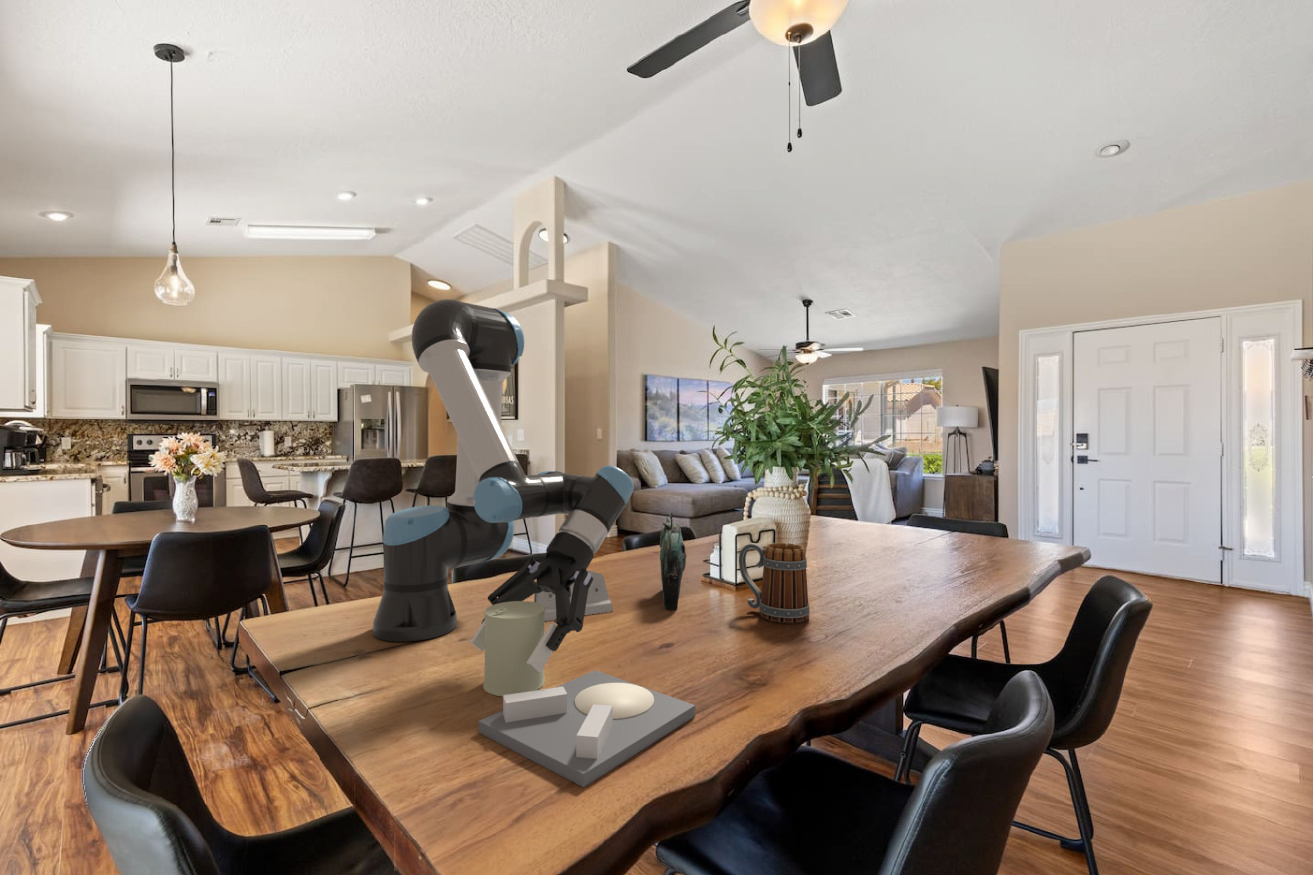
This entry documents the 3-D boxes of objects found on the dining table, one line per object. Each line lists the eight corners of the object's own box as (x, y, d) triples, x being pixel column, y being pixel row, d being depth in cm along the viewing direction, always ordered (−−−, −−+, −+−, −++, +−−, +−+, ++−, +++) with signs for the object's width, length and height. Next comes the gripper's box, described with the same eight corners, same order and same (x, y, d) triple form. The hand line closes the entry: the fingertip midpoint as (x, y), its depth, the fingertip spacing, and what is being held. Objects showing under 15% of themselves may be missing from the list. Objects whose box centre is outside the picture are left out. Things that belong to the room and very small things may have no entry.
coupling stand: (478, 732, 78) (478, 701, 78) (595, 679, 94) (595, 654, 94) (583, 787, 66) (583, 750, 66) (695, 716, 83) (695, 686, 83)
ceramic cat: (659, 587, 151) (660, 507, 151) (685, 588, 151) (686, 508, 151) (657, 610, 131) (658, 519, 131) (686, 611, 131) (687, 519, 131)
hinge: (539, 622, 123) (534, 572, 126) (532, 623, 127) (528, 575, 130) (614, 611, 131) (608, 564, 134) (606, 613, 135) (600, 568, 138)
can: (471, 684, 92) (472, 606, 92) (522, 667, 99) (522, 594, 99) (505, 702, 86) (506, 619, 86) (556, 683, 93) (557, 606, 93)
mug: (816, 614, 130) (817, 545, 130) (799, 627, 121) (800, 553, 121) (749, 603, 138) (750, 537, 138) (729, 614, 129) (730, 544, 129)
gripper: (642, 567, 97) (574, 690, 85) (539, 547, 112) (469, 650, 101) (621, 538, 93) (546, 664, 81) (516, 522, 108) (440, 626, 96)
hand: (503, 657), depth 91 cm, fingers open, 13 cm apart
